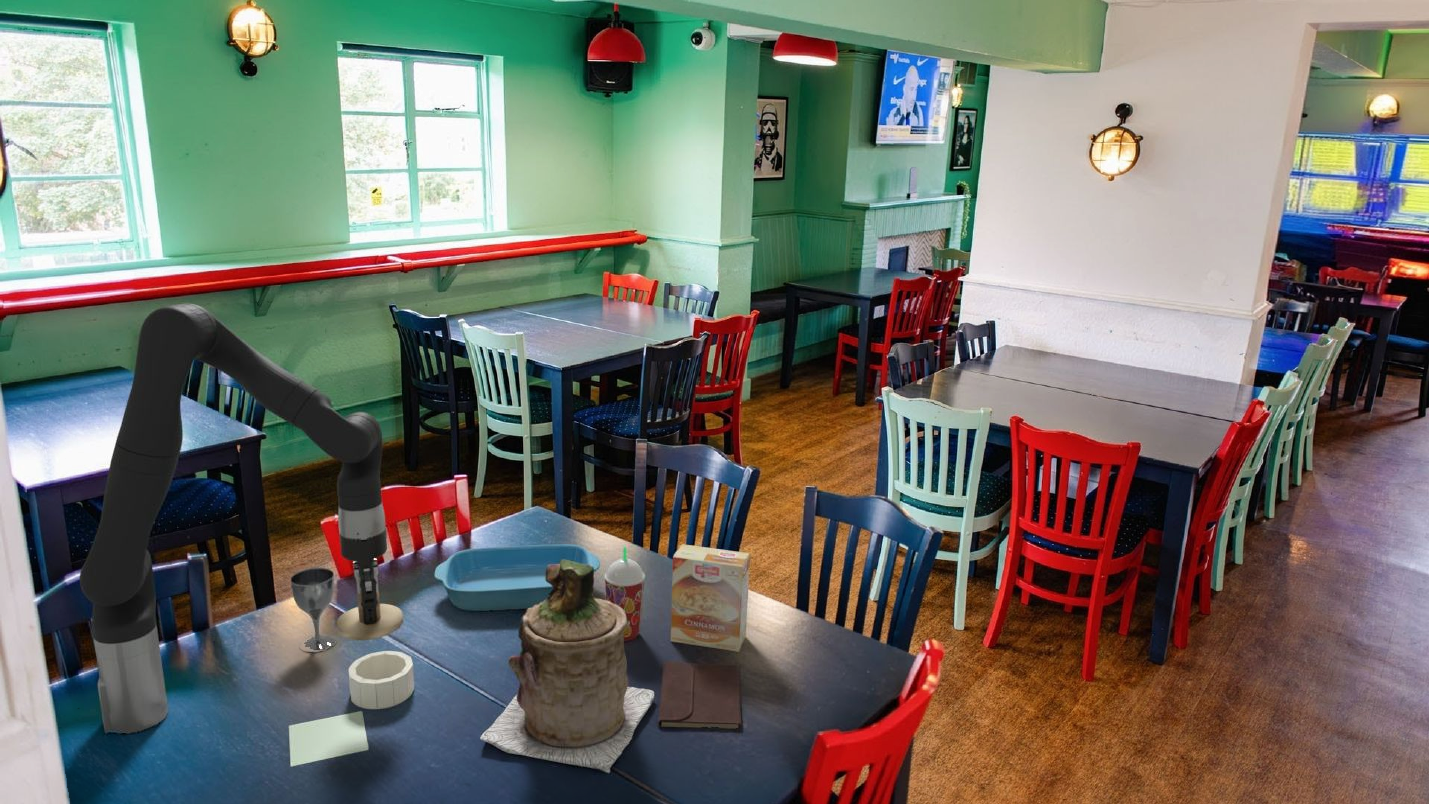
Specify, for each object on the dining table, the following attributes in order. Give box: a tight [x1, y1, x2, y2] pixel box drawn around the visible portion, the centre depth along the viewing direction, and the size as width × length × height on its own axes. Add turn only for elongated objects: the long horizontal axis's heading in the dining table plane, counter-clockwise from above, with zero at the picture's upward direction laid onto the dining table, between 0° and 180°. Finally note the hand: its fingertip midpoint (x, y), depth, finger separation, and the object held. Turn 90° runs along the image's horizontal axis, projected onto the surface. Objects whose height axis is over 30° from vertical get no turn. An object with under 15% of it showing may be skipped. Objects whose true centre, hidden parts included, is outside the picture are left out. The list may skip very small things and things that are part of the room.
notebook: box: [657, 660, 743, 729], centre depth 179 cm, size 15×20×2 cm
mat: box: [288, 710, 369, 768], centre depth 162 cm, size 12×12×1 cm
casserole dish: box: [434, 543, 601, 612], centre depth 216 cm, size 37×22×7 cm, turn 101°
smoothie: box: [604, 546, 646, 642], centre depth 197 cm, size 8×8×20 cm
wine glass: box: [290, 567, 338, 650], centre depth 190 cm, size 8×8×15 cm
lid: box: [336, 590, 404, 641], centre depth 168 cm, size 11×11×6 cm
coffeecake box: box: [670, 543, 751, 653], centre depth 197 cm, size 15×7×20 cm, turn 76°
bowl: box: [348, 650, 415, 710], centre depth 175 cm, size 11×11×6 cm
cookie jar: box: [479, 559, 655, 774], centre depth 165 cm, size 25×25×32 cm
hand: (369, 617), depth 168 cm, fingers closed on lid, 3 cm apart
